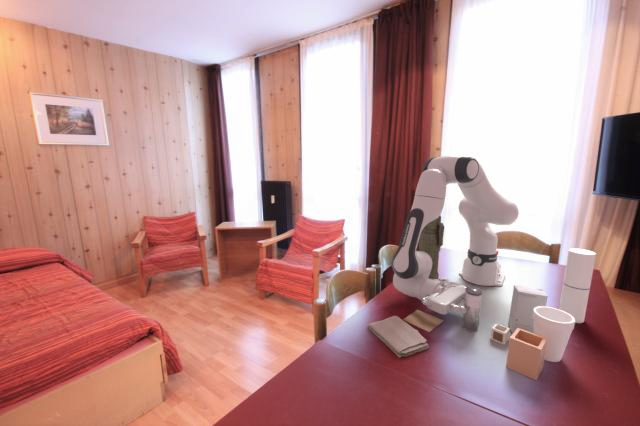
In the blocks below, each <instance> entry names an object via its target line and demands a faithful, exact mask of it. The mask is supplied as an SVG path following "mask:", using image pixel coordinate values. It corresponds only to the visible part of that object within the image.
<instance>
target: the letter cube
mask: <svg viewBox="0 0 640 426" xmlns="http://www.w3.org/2000/svg"><path fill="white" fill-rule="evenodd" d="M510 332H511V330H510V327H507V326H504V325H502V324H500V323H497V322H496V323H495V324H494V325H493V326H492V327H491V332H490V337H489V338H490V340H492V341H493V342H496V343H498V344H501V345H503V346H505V345H506V343H507V342H509V340H510Z"/></svg>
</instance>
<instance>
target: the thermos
mask: <svg viewBox="0 0 640 426" xmlns="http://www.w3.org/2000/svg"><path fill="white" fill-rule="evenodd" d="M444 233H445V225H444V223H442V216H441V214H440V216H439V217H438V218H437V219H435V220H434V221H431V222H430V223H428V224H427V225H426V226H425V227H424V228H423V230H422V232H421V234H420V238H419V242H418V249H419V251H424V252H426V253H428V254H429V255H430V257H431V259H432V262H433V266H432V270H431V273H430V275H429V277H428V278H429V279H439V275H440V274H439V272H438V271H439V270H438V269H439V256H440V251H441V247H442V246H443V245H444Z"/></svg>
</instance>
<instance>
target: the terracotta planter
mask: <svg viewBox="0 0 640 426" xmlns="http://www.w3.org/2000/svg"><path fill="white" fill-rule="evenodd" d="M547 339H548V338H545V337H542V336H539V335H537V334H534V333H531V332H528V331H526V330H523V329H520V328H517V329H516V330H515V332H514V333H511V336H509V340H508V348H507V349H508V350H507V356H506V364H505V367H506V368H509V370H510V369H511V370H513V371H514V372H517V373H519V374H521V375H523V376H526V377H528V378H530V379H532V380H535V381H538V379H539V376H540V374H541V373H542V370H544V363H545V360H544V358H545V352H546V345H547Z"/></svg>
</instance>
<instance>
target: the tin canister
mask: <svg viewBox="0 0 640 426" xmlns="http://www.w3.org/2000/svg"><path fill="white" fill-rule="evenodd" d="M466 286H467V285H466ZM465 291H466V292H465V300H464V302H463V303H464V305H463V306H464V307H467V312H466V313H465V314H464V313H462V314H463V317H462V328H463V329H464V330H466V331H469V332H477V331H479V324H480V317H481V316H480V314H481V306H482V305H481V304H482V295H483V289H481V288H480V287H478V286H474V285H473V286H472V285H468V286H467V287H466V289H465Z"/></svg>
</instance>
